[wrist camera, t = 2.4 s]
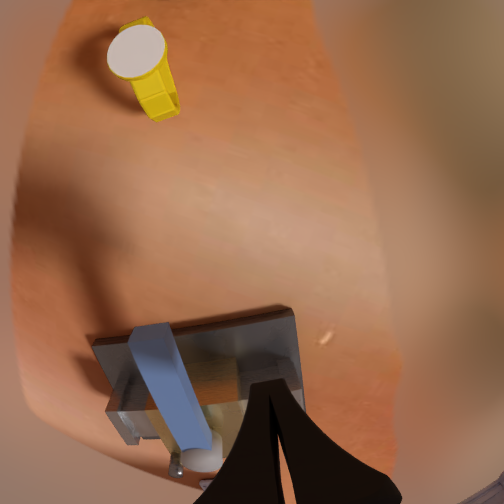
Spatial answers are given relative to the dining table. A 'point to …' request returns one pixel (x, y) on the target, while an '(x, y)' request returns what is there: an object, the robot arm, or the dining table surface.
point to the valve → (205, 376)
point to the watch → (145, 67)
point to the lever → (175, 396)
